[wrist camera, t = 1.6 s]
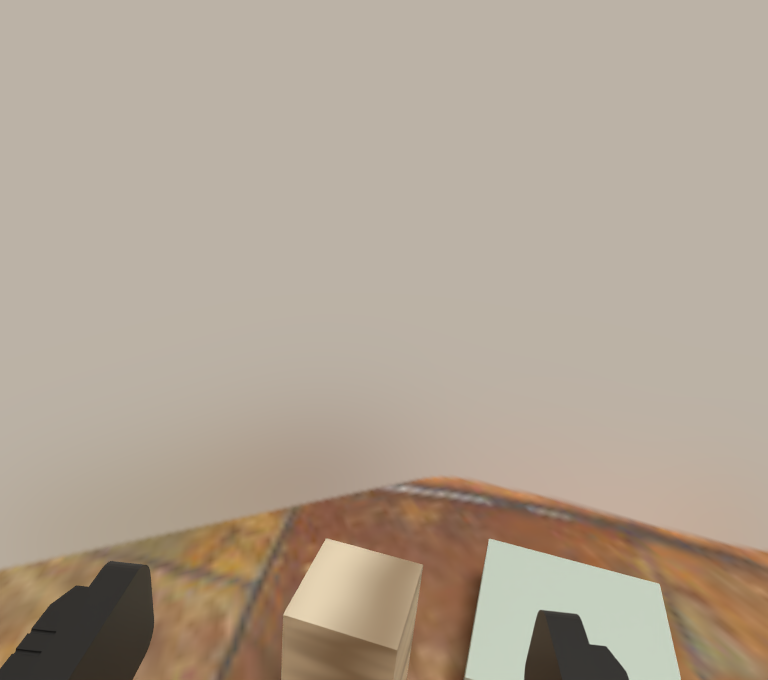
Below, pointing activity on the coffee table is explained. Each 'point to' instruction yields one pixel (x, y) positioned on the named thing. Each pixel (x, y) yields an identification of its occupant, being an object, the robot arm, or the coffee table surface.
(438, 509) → the coffee table surface
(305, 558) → the coffee table surface
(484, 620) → the sage base block
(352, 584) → the maple pillar block
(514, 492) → the coffee table surface
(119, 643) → the robot arm
